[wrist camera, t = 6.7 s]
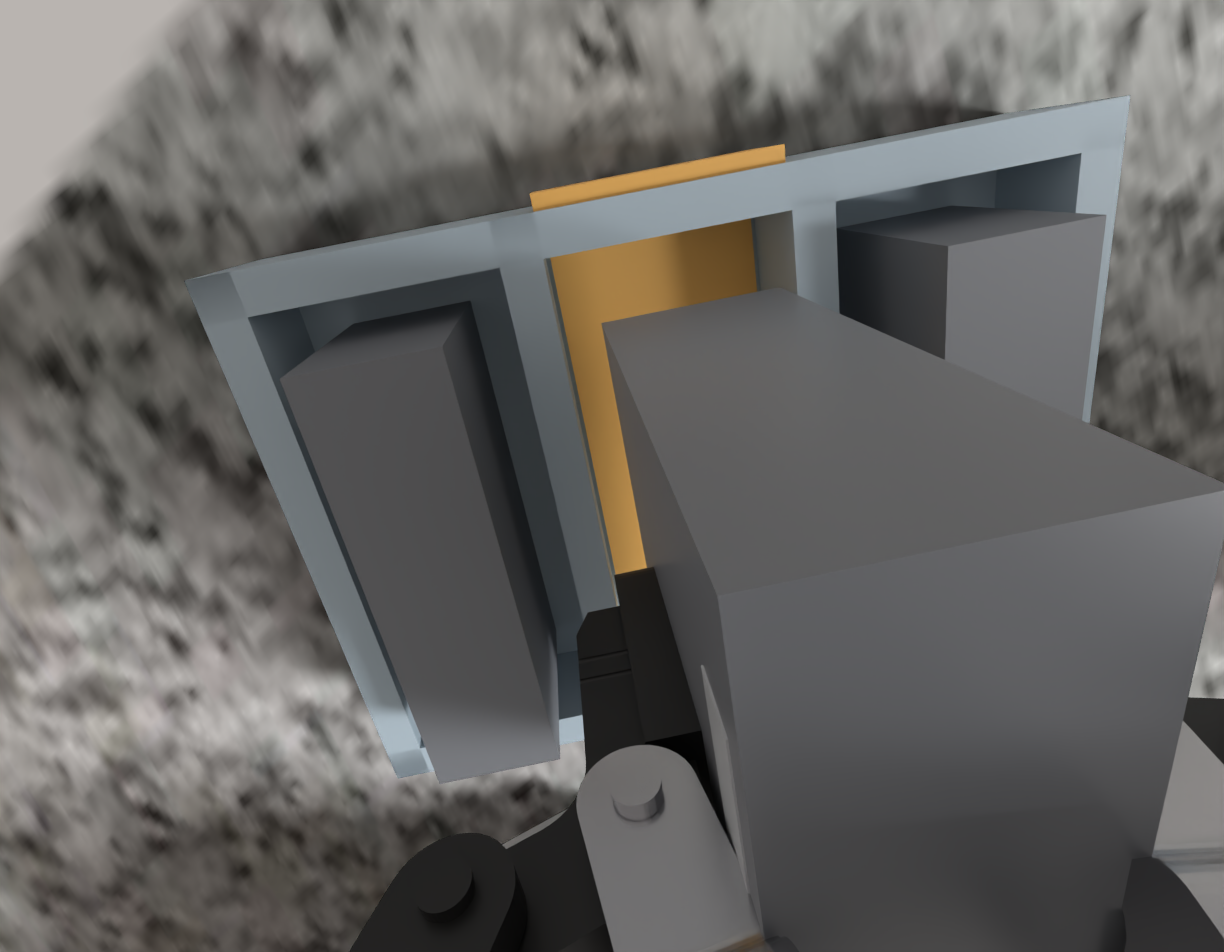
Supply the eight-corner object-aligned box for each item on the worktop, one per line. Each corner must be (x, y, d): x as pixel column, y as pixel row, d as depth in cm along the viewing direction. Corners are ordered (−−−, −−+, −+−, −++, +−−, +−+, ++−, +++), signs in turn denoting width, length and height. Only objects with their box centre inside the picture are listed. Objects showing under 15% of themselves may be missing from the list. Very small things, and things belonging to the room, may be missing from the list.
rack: (1007, 98, 15) (1240, 56, 10) (980, 568, 20) (1124, 696, 15) (255, 245, 15) (107, 278, 10) (421, 682, 20) (379, 851, 15)
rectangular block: (780, 286, 11) (1239, 486, 4) (811, 700, 15) (1073, 1205, 7) (600, 323, 11) (713, 597, 4) (675, 728, 15) (808, 1264, 7)
